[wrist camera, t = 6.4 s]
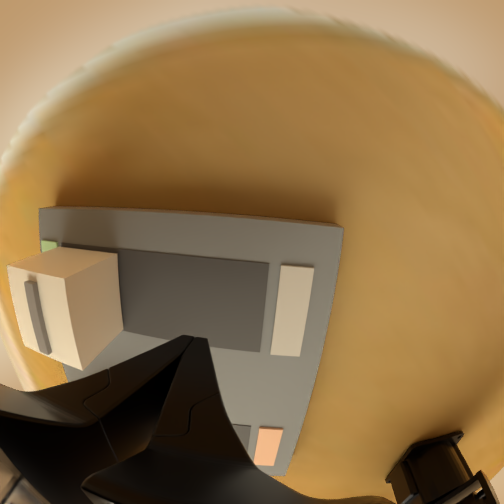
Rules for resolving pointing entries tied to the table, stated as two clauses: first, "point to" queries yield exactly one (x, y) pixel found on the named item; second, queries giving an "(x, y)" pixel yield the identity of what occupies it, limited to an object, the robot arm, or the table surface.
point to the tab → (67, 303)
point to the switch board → (219, 304)
